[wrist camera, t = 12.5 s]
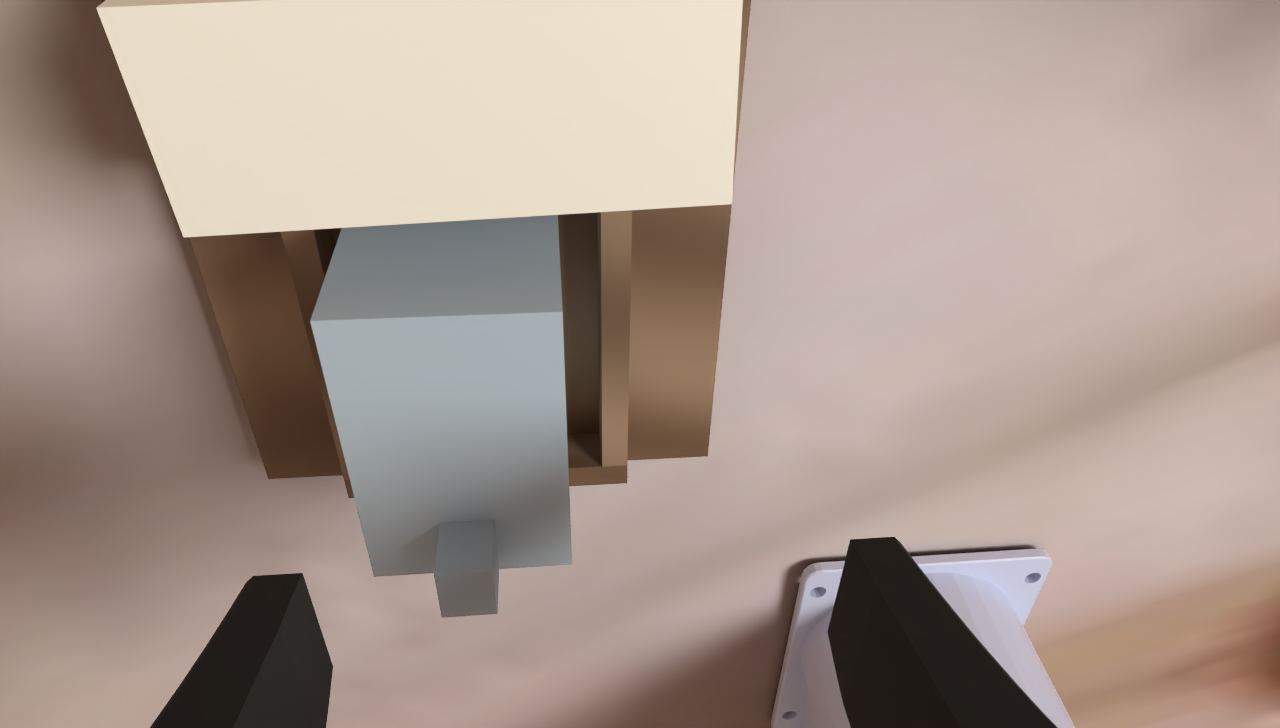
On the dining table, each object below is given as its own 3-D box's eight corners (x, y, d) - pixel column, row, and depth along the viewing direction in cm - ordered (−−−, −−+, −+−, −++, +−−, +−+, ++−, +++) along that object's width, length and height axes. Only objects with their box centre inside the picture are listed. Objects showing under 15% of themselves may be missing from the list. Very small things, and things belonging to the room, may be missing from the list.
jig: (701, 430, 24) (714, 489, 22) (277, 450, 23) (256, 515, 21) (755, -180, 15) (783, -161, 13) (77, -189, 14) (14, -170, 12)
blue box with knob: (564, 400, 21) (574, 615, 16) (403, 407, 21) (364, 629, 16) (555, 170, 18) (565, 359, 13) (359, 174, 17) (293, 370, 12)
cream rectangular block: (689, 91, 17) (731, 204, 13) (259, 113, 16) (183, 237, 13) (692, -95, 15) (743, -21, 11) (204, -77, 14) (96, 8, 11)
